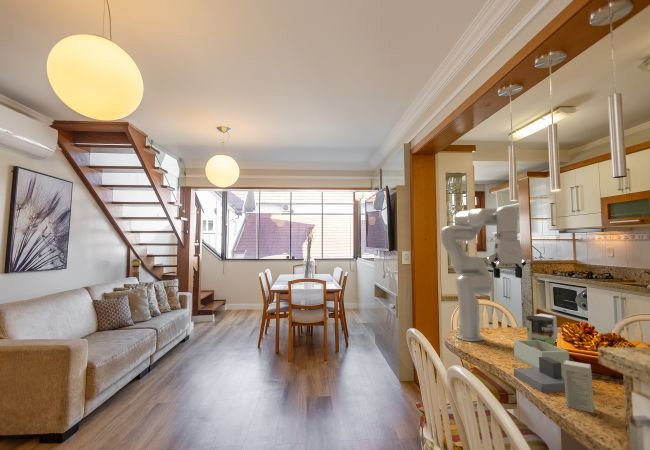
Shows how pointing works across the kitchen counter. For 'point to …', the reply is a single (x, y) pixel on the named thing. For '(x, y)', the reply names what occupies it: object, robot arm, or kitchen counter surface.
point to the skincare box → (578, 386)
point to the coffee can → (540, 329)
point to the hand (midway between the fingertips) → (507, 277)
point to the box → (538, 352)
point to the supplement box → (553, 324)
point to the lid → (543, 376)
